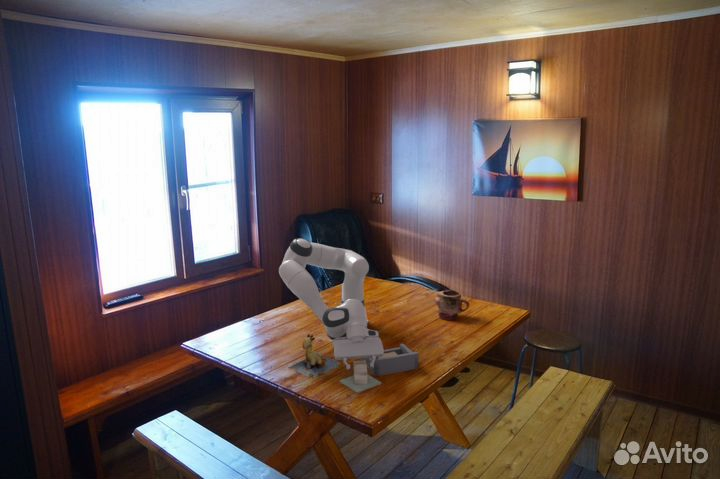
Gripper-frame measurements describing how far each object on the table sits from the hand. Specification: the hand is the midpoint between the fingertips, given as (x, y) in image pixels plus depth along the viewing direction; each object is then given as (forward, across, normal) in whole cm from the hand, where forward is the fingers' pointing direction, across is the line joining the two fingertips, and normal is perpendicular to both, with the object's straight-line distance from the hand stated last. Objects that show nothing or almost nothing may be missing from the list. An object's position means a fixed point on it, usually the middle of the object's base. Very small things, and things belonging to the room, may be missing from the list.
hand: (360, 368), depth 211 cm
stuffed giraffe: (-8, -17, +18) cm, 27 cm away
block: (+4, 0, +4) cm, 6 cm away
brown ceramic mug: (-41, +56, +51) cm, 86 cm away
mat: (+4, 0, +5) cm, 7 cm away
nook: (-7, +14, +16) cm, 22 cm away
